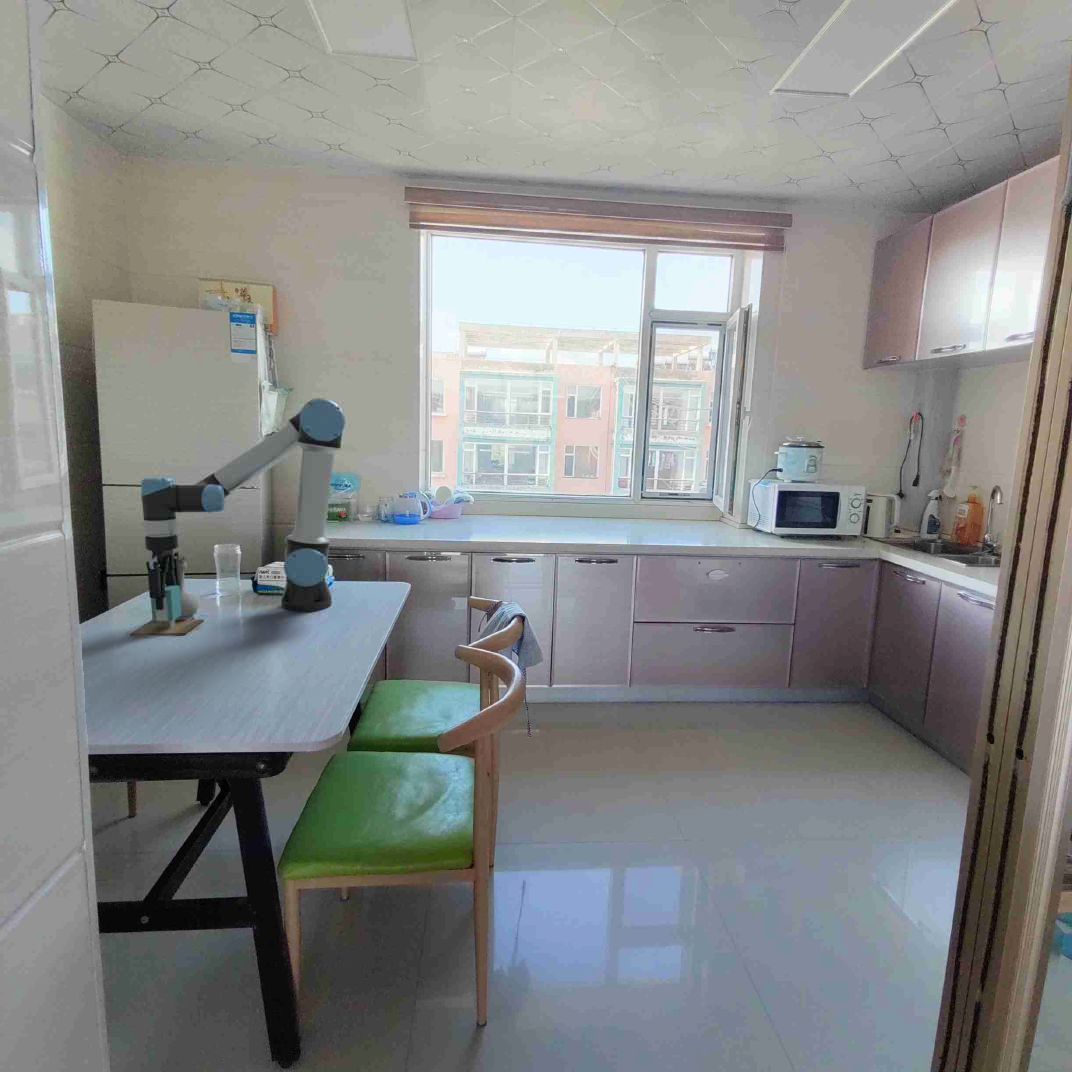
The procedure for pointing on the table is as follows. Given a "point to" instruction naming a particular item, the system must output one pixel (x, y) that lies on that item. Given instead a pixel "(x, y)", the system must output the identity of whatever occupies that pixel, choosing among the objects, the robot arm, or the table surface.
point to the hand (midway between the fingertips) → (167, 616)
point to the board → (178, 629)
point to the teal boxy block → (170, 603)
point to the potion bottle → (185, 595)
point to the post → (167, 624)
